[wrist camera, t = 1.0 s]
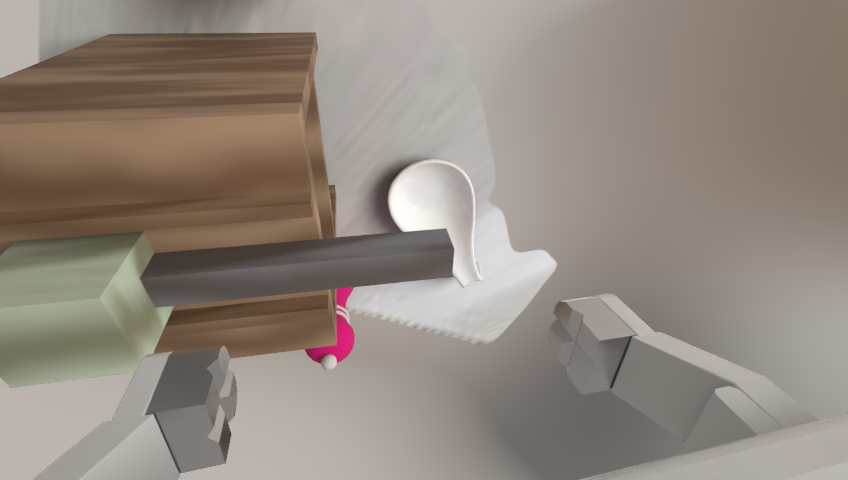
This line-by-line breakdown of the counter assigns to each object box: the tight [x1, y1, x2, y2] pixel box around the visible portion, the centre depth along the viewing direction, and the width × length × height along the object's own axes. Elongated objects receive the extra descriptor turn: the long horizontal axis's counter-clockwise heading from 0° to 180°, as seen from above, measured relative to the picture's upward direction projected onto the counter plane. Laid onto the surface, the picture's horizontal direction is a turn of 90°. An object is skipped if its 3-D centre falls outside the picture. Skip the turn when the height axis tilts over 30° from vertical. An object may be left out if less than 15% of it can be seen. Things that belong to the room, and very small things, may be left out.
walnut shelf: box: [0, 33, 337, 358], centre depth 37 cm, size 20×20×28 cm
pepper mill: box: [305, 287, 354, 370], centre depth 53 cm, size 7×7×20 cm
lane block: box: [0, 228, 454, 388], centre depth 25 cm, size 6×26×6 cm, turn 89°
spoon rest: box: [388, 159, 483, 287], centre depth 58 cm, size 24×12×7 cm, turn 25°
